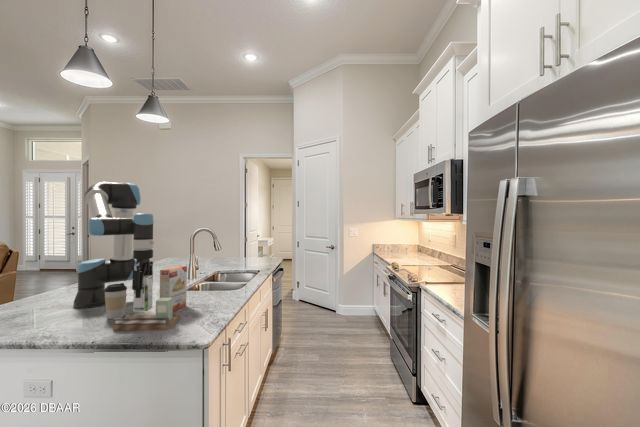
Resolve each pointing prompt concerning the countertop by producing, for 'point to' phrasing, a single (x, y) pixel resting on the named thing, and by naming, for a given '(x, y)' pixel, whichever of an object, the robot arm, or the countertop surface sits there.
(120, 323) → the shelf board
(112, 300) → the coffee cup
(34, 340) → the countertop surface
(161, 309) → the pale green box
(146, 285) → the syrup box
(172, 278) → the cracker box
